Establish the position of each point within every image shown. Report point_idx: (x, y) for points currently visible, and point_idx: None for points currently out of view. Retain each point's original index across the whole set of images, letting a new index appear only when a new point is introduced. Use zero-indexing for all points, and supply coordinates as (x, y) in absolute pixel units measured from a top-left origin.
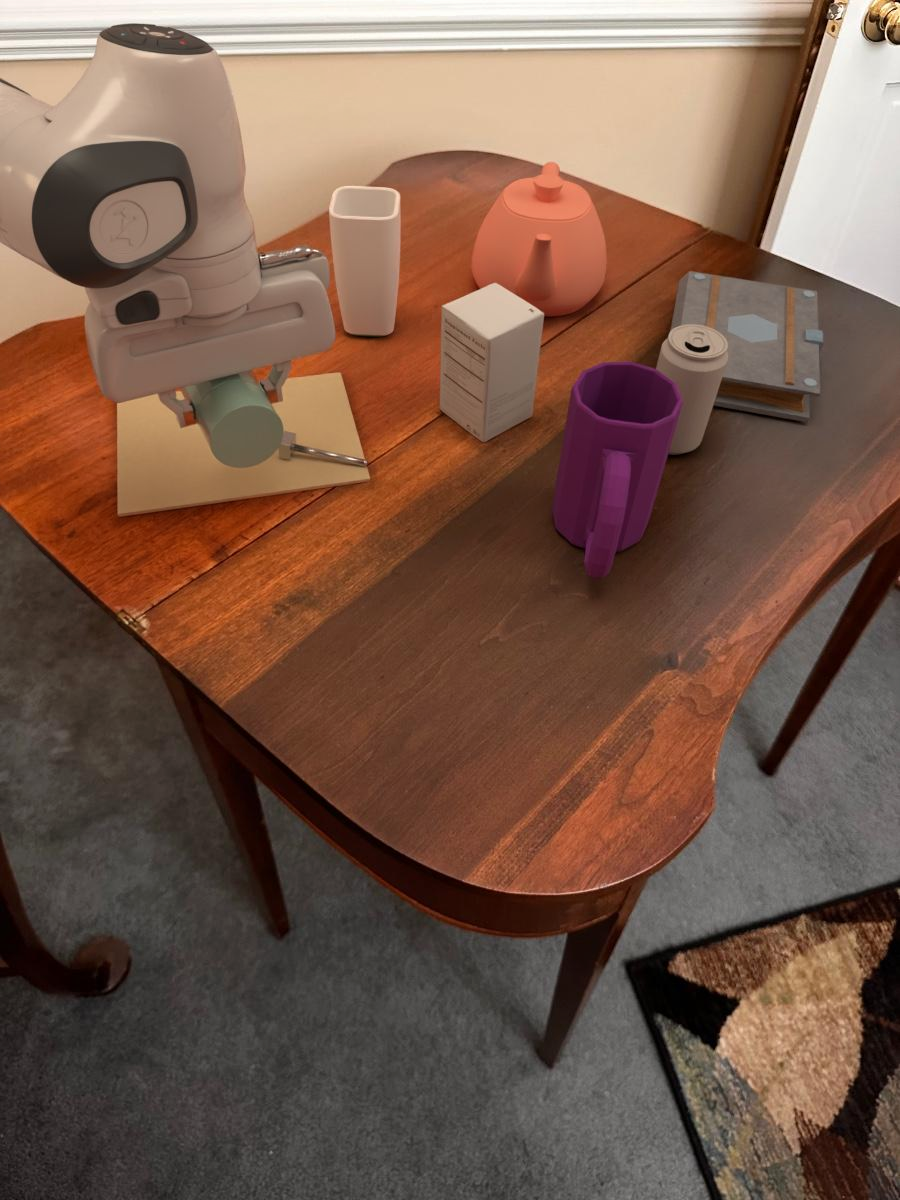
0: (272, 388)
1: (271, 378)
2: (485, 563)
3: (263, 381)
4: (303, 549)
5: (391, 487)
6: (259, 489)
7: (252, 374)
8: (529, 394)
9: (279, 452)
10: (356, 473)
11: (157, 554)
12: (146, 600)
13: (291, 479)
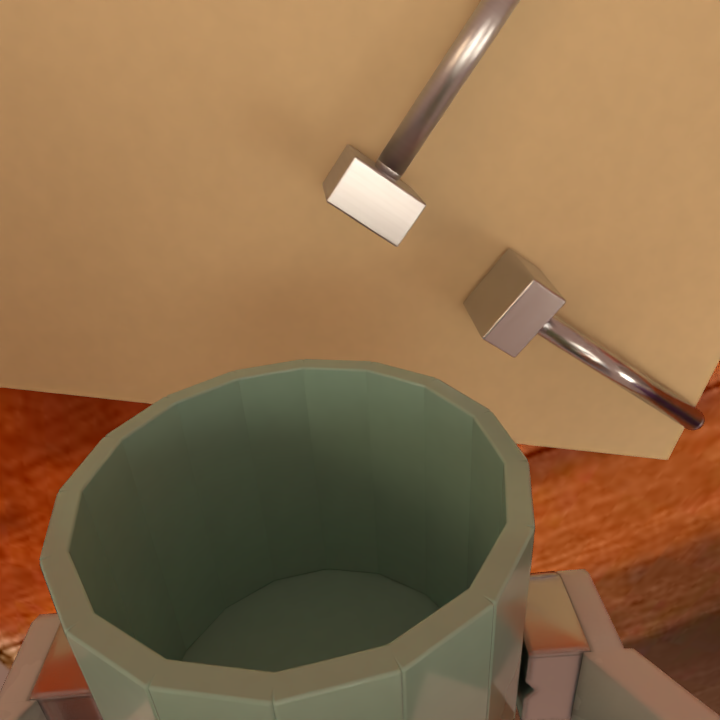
0: (560, 715)
1: (593, 696)
2: (714, 694)
3: (544, 668)
4: None
5: (696, 484)
6: None
7: (505, 713)
8: None
9: (472, 316)
10: (646, 431)
11: (41, 518)
12: (22, 619)
13: None
